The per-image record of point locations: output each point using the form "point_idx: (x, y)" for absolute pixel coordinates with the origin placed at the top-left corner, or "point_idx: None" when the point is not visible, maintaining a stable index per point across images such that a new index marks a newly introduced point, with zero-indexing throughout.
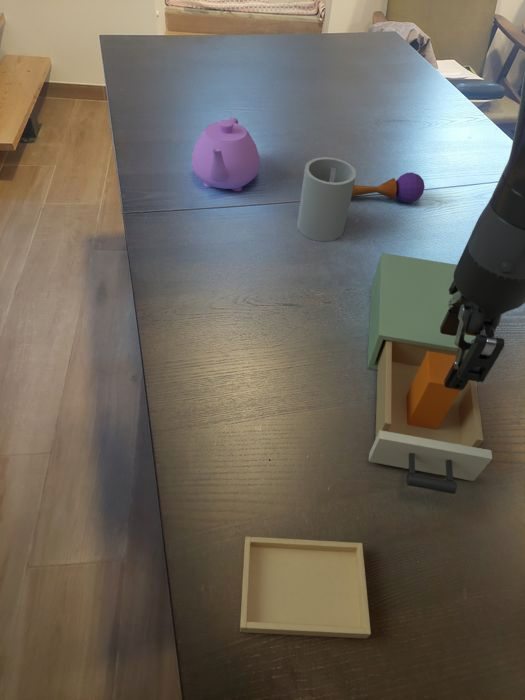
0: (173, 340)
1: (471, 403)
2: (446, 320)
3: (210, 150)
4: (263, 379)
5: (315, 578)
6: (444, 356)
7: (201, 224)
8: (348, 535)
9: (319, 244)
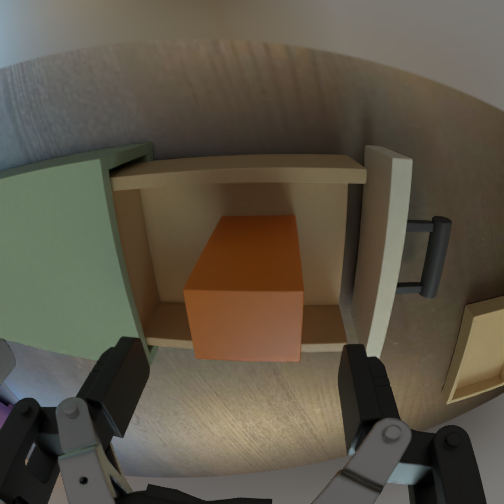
0: (222, 464)
1: (257, 182)
2: (133, 410)
3: None
4: (245, 413)
5: (484, 340)
6: (198, 325)
7: None
8: (450, 316)
9: (14, 350)
